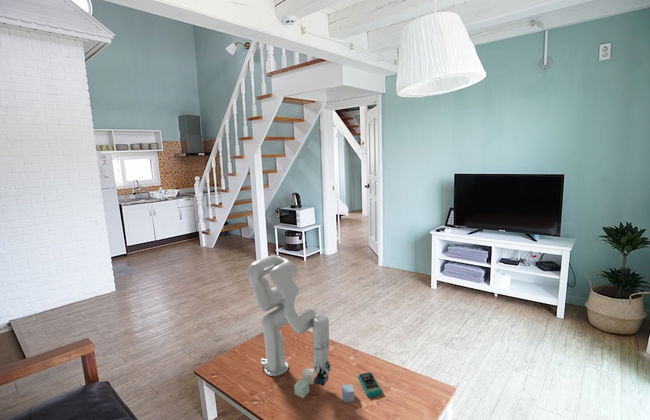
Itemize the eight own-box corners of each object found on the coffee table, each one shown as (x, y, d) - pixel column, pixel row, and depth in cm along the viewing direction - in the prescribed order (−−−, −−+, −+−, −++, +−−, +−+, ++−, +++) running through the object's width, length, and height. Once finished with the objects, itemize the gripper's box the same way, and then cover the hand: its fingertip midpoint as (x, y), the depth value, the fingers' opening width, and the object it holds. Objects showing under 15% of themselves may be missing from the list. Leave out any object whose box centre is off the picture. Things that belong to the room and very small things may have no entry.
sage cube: (294, 394, 161) (294, 385, 160) (301, 388, 165) (300, 379, 164) (303, 398, 158) (302, 388, 158) (309, 391, 163) (308, 382, 162)
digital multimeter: (371, 375, 172) (371, 370, 172) (382, 395, 158) (382, 390, 157) (357, 378, 170) (357, 373, 170) (367, 399, 156) (367, 393, 156)
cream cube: (302, 383, 168) (302, 374, 167) (304, 377, 173) (304, 368, 172) (312, 384, 167) (312, 375, 167) (314, 377, 172) (313, 368, 171)
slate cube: (343, 402, 154) (343, 392, 153) (341, 394, 159) (341, 385, 158) (354, 401, 155) (354, 391, 154) (352, 393, 160) (352, 383, 159)
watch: (327, 387, 158) (327, 365, 156) (312, 382, 161) (311, 361, 160) (332, 380, 163) (332, 358, 162) (316, 375, 166) (317, 354, 165)
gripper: (319, 331, 167) (319, 365, 171) (307, 350, 152) (308, 387, 155) (333, 333, 165) (334, 367, 169) (323, 353, 150) (324, 390, 153)
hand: (322, 376), depth 162 cm, fingers closed on watch, 3 cm apart
